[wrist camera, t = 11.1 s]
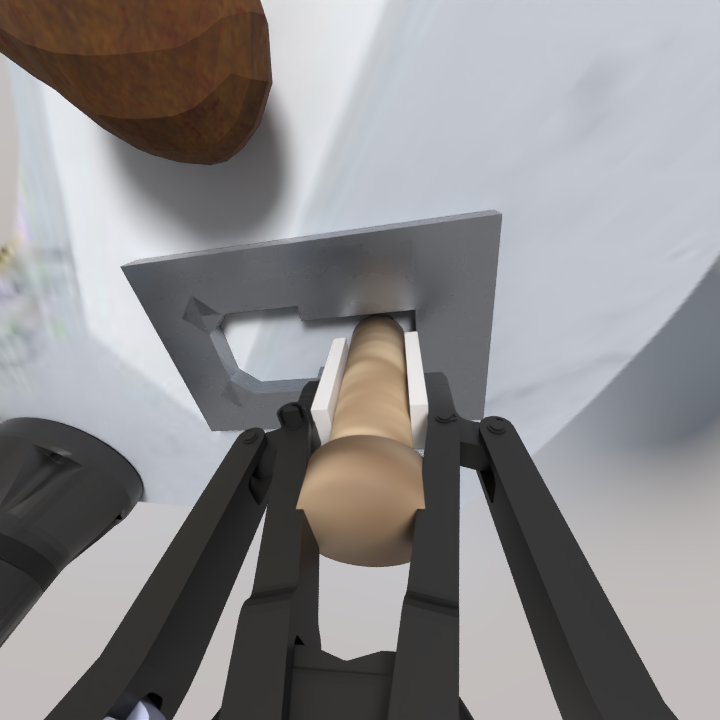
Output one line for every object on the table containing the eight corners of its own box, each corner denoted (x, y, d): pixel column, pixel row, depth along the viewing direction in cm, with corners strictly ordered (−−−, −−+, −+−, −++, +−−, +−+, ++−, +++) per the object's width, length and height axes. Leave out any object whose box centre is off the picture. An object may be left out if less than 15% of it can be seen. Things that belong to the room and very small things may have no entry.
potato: (64, -74, 12) (-303, -337, 6) (302, -34, 13) (201, -252, 6) (118, 145, 17) (-65, 134, 10) (297, 175, 17) (234, 184, 10)
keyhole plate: (220, 418, 27) (211, 431, 26) (137, 259, 20) (120, 266, 19) (478, 406, 24) (483, 419, 23) (493, 209, 17) (502, 213, 15)
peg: (349, 370, 23) (310, 565, 12) (338, 310, 20) (274, 487, 9) (415, 366, 22) (439, 568, 11) (412, 303, 19) (438, 486, 8)
